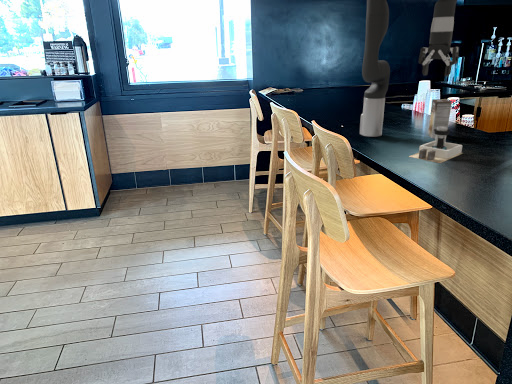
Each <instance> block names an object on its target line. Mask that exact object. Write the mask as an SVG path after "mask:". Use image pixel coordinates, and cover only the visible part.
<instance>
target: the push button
mask: <svg viewBox="0 0 512 384" xmlns="http://www.w3.org/2000/svg"><path fill="white" fill-rule="evenodd" d="M434 131H435V132H434V133H435V134H436V138H434V141H435V145H434V146H432V148H437V149H443V150H448V149H447V147H445V146H446V145H445V142H446V140H447V136H448V135H449V134H450V131H451V130H450V129H449V126H448V127H445V126H438V127H437V128H436V129H434ZM438 136H439V137H438ZM443 136H444V138H443Z"/></svg>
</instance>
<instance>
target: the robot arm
mask: <svg viewBox="0 0 512 384" xmlns="http://www.w3.org/2000/svg"><path fill="white" fill-rule="evenodd" d="M457 2H458V0H437V1H436V2H435V4H434V9H433V16H432V17H433V18H432V22H431V27H430V34H429V47H421V48H420V52H419V56H418V64H420V65H421V66H422V71H421V73H422V75H423V76H428V74H429V66H430V65H429V64H430V63H431V61H433V60H442V61H443V62H444V63H445V65H446V66H445V69H444V77H449V76H450V75H451V73H452V67H453V66H454V65H457V64H458V63H459V53H460V52H459V51H460V47H459V46H454V47H451V46H452V45H451V44H452V39H453V31H454V24H455V21H454V20H455V13H456V4H457ZM389 19H390V8H389V4H388V2H387V0H366V15H365V38H364V39H365V42H364V51H363V57H362V58H363V61H362V66H361V67H362V68H361V75H362V76H361V77H362V78H363V81H364V82H366V83H369V84H371V85H370V86H369V87H368V88H367V89H366V90H365V91H364V94H363V108H362V113H361V114H360V123H359V135H361V136H363V137H370V138H371V137H372V138H373V137H375V138H376V137H381V136H382V135H383V134H382V133H383V125H384V123H383V122H384V115H385V114H384V112H385V102H386V94H387V92H388V89H389V83H390V75H391V67H390V65H389V62H388V61H387V60H384V59H382V60H381V59H380V60H379V53H380V52H379V51H380V47H381V45H382V42H383V40H384V38H385V36H386V34H387V32H388V29H389V21H390V20H389ZM450 52H451V57H450V55H449V53H450ZM427 53H428V55H427Z"/></svg>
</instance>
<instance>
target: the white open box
mask: <svg viewBox="0 0 512 384" xmlns="http://www.w3.org/2000/svg"><path fill="white" fill-rule="evenodd" d="M434 145H435V140H432V141H430V142H427V143H423V144H422V145H419V149H418V152H419V151H420V150H422V149H427V153H426V155H428V152H429V151H432V150H434V151H436V152H435V157H438V158H443V159H448V158H450V157H453V156H455V155H457V154H460V153H462V150H463V145H462V144H458V143H452V142H445V145H446V146H445V147H447V149H448V150H443V149H437V148H432V146H434ZM460 155H461V154H460ZM453 158H454V157H453Z"/></svg>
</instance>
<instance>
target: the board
mask: <svg viewBox="0 0 512 384" xmlns="http://www.w3.org/2000/svg"><path fill="white" fill-rule="evenodd" d="M435 152H436V151H434V150H432V151H429V152H428V155H426V153H427V149H422V150H420V151H419V150H418V152H416V153H414V154H412V155H409V156H408V157H409V158H414V159H418V160H422V161H428V162H433V163H438V164H442V163H444V162H446V161H448V160H452V159H453V158H455V157H458V156H460V155H462V154H464V153H463V152H461V153H460V154H457V155H455V156H453V157H450V158H448V159H443V158H438V157H435Z"/></svg>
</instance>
